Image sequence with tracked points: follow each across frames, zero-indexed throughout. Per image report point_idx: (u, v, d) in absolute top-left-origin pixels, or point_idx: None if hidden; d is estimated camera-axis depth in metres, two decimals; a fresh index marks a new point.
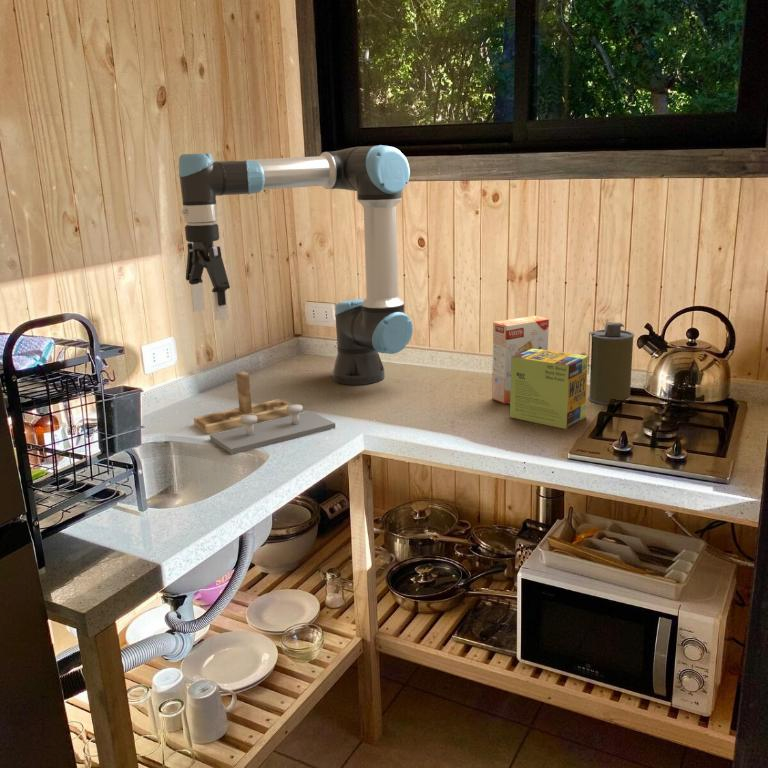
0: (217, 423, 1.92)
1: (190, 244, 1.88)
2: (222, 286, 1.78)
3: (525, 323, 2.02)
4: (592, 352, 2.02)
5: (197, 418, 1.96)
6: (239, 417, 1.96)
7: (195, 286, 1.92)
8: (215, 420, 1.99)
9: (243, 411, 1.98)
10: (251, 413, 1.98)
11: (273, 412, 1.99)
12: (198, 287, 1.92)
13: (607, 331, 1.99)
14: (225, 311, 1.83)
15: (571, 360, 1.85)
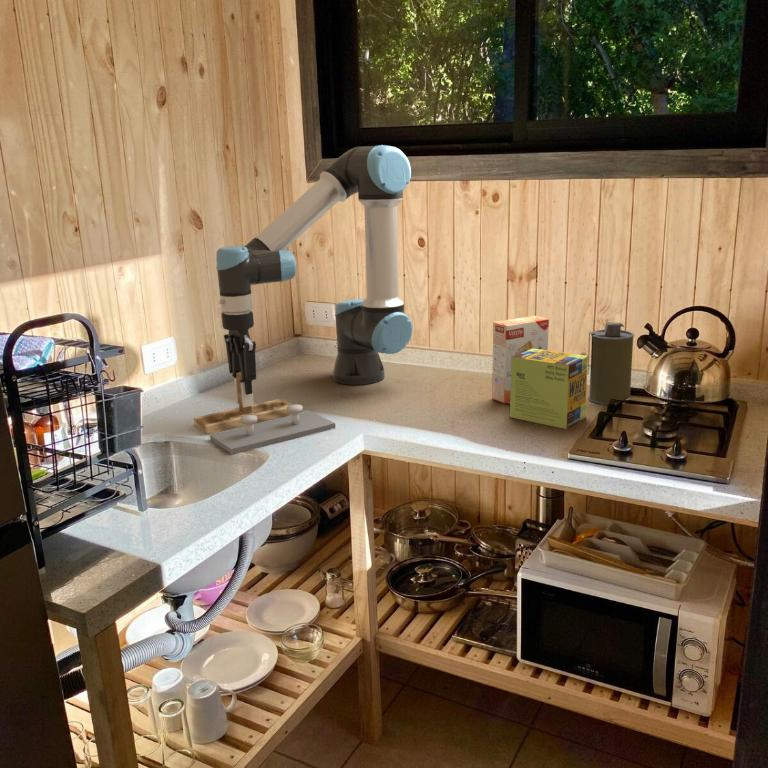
0: (217, 423, 1.92)
1: (226, 335, 1.98)
2: (249, 379, 1.93)
3: (525, 323, 2.02)
4: (592, 352, 2.02)
5: (197, 418, 1.96)
6: (239, 417, 1.96)
7: None
8: (215, 420, 1.99)
9: (243, 411, 1.98)
10: (251, 413, 1.98)
11: (273, 412, 1.99)
12: None
13: (607, 331, 1.99)
14: (251, 399, 1.97)
15: (571, 360, 1.85)
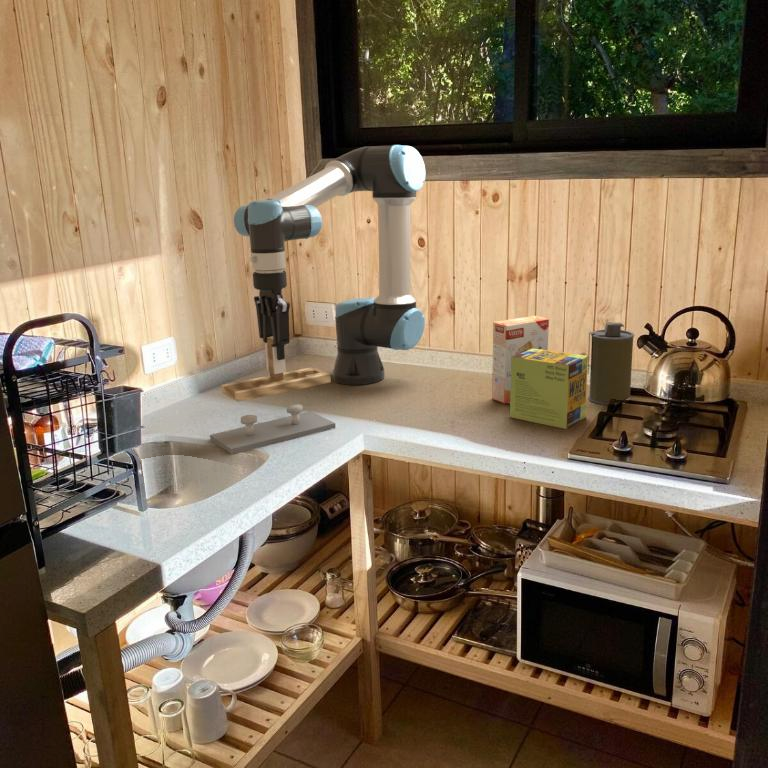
0: (247, 390, 1.79)
1: (256, 296, 1.85)
2: (282, 343, 1.80)
3: (525, 323, 2.02)
4: (592, 352, 2.02)
5: (225, 385, 1.83)
6: (270, 384, 1.83)
7: None
8: (244, 388, 1.85)
9: (274, 378, 1.85)
10: (283, 380, 1.85)
11: (306, 380, 1.86)
12: None
13: (607, 331, 2.00)
14: (284, 365, 1.84)
15: (571, 360, 1.85)
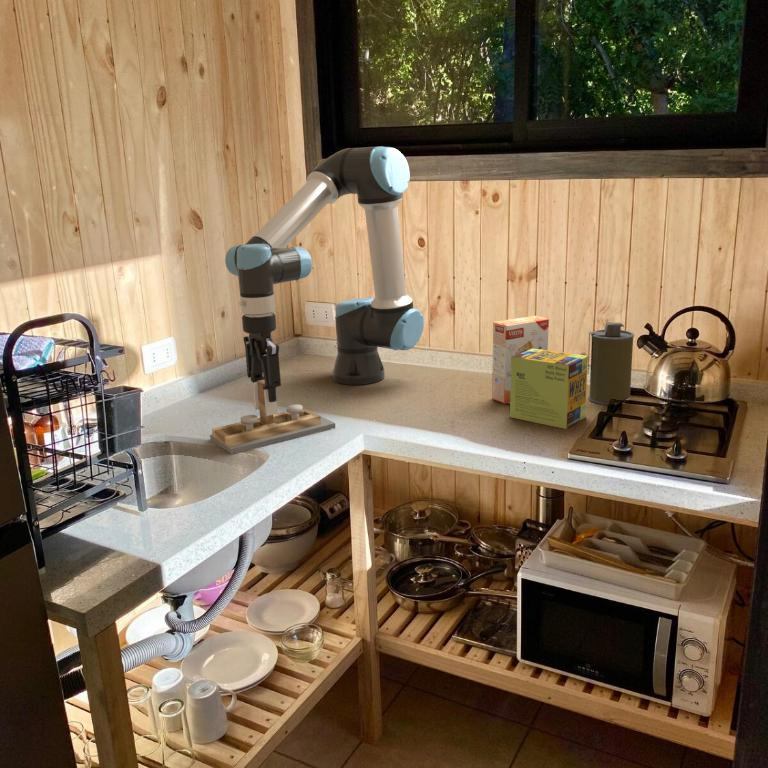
0: (237, 435, 1.80)
1: (246, 337, 1.86)
2: (274, 385, 1.80)
3: (525, 323, 2.02)
4: (592, 352, 2.02)
5: (216, 429, 1.84)
6: (260, 428, 1.84)
7: None
8: (234, 431, 1.87)
9: (264, 421, 1.86)
10: (273, 424, 1.86)
11: (296, 422, 1.87)
12: None
13: (607, 331, 1.99)
14: (275, 406, 1.84)
15: (571, 360, 1.85)
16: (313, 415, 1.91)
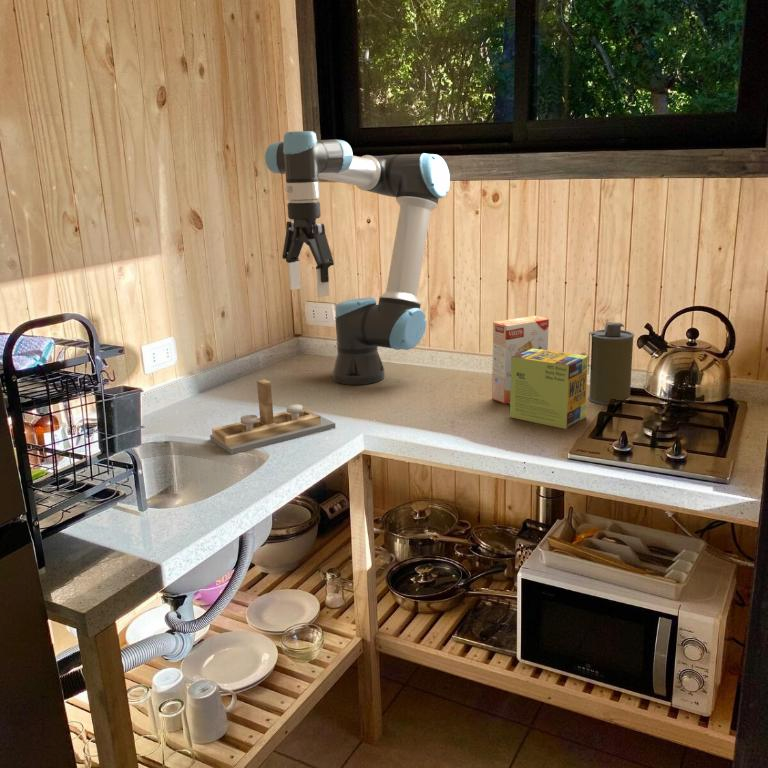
0: (237, 435, 1.80)
1: (289, 222, 1.90)
2: (327, 263, 1.80)
3: (525, 323, 2.02)
4: (592, 352, 2.02)
5: (216, 429, 1.84)
6: (260, 428, 1.84)
7: (293, 264, 1.93)
8: (234, 431, 1.87)
9: (264, 421, 1.86)
10: (273, 424, 1.86)
11: (296, 422, 1.87)
12: (295, 265, 1.94)
13: (607, 331, 1.99)
14: (327, 288, 1.84)
15: (571, 360, 1.85)
16: (313, 415, 1.91)
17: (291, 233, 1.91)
